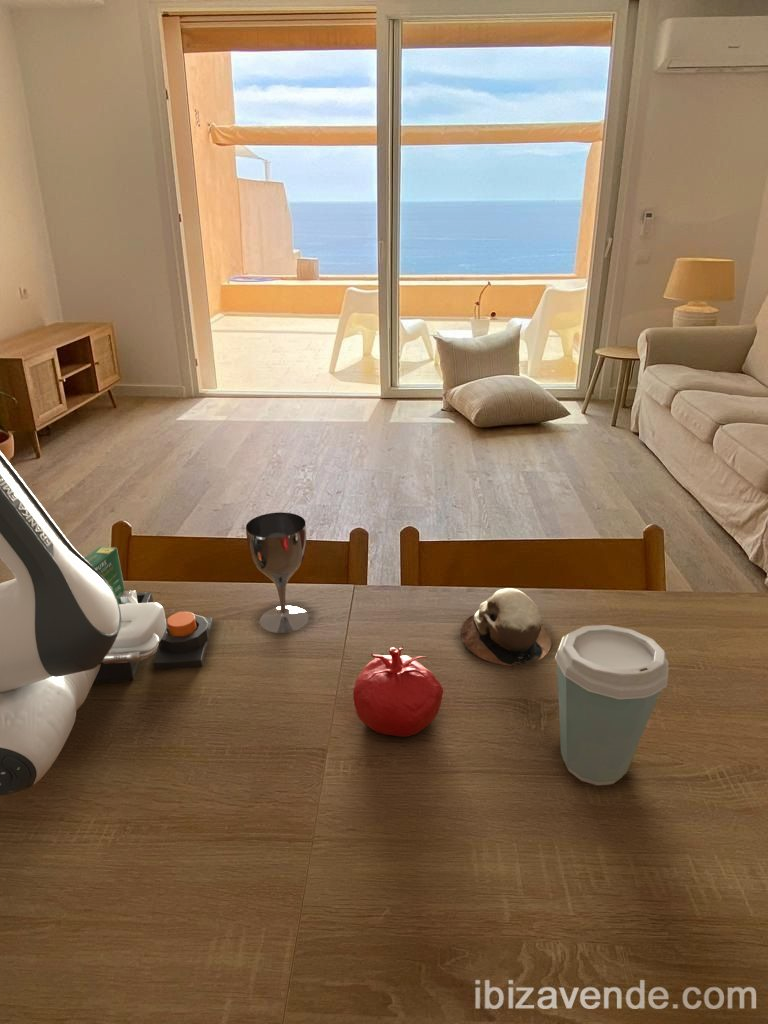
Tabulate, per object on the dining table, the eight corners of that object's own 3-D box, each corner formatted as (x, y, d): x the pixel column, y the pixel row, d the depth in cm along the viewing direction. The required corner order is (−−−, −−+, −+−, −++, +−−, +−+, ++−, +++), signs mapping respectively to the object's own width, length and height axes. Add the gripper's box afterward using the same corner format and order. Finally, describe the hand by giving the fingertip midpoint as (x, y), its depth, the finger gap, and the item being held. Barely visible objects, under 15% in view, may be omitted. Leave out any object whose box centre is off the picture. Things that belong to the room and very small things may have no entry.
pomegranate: (413, 762, 73) (414, 691, 70) (337, 727, 78) (333, 660, 75) (457, 708, 81) (459, 642, 77) (384, 680, 86) (383, 616, 82)
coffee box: (116, 627, 96) (98, 543, 91) (135, 630, 96) (118, 545, 90) (81, 662, 89) (60, 573, 83) (101, 665, 88) (81, 575, 83)
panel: (152, 670, 88) (148, 651, 87) (168, 626, 98) (165, 608, 96) (204, 667, 89) (201, 648, 88) (215, 624, 98) (212, 605, 97)
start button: (166, 638, 90) (164, 627, 90) (171, 623, 94) (169, 612, 93) (194, 636, 91) (192, 625, 90) (198, 621, 94) (196, 610, 93)
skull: (437, 622, 95) (481, 562, 95) (483, 650, 101) (525, 593, 101) (485, 668, 85) (534, 601, 85) (533, 696, 91) (580, 633, 91)
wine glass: (244, 620, 99) (233, 525, 92) (289, 598, 104) (281, 507, 98) (279, 642, 94) (269, 543, 87) (323, 619, 99) (318, 524, 92)
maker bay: (54, 686, 86) (46, 654, 84) (87, 624, 98) (81, 595, 96) (133, 680, 87) (127, 649, 85) (156, 620, 99) (151, 591, 97)
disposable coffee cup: (525, 742, 76) (535, 627, 70) (606, 717, 79) (623, 605, 73) (583, 816, 67) (601, 690, 60) (673, 784, 70) (698, 662, 64)
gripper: (148, 634, 74) (173, 570, 87) (-51, 646, 73) (3, 580, 85) (157, 681, 77) (180, 613, 89) (-35, 695, 75) (15, 624, 88)
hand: (92, 597), depth 87 cm, fingers open, 8 cm apart
